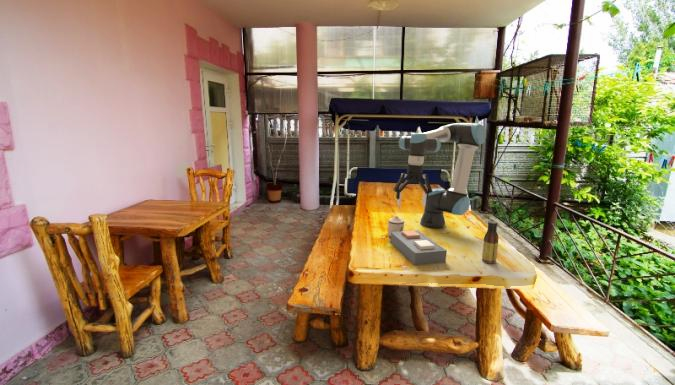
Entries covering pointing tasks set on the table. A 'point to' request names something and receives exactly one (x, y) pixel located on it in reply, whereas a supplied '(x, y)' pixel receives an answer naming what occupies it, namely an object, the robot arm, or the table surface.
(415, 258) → the key box
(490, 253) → the sauce bottle
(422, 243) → the ivory key
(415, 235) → the terracotta key
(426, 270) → the table surface
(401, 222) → the teacup with lid
